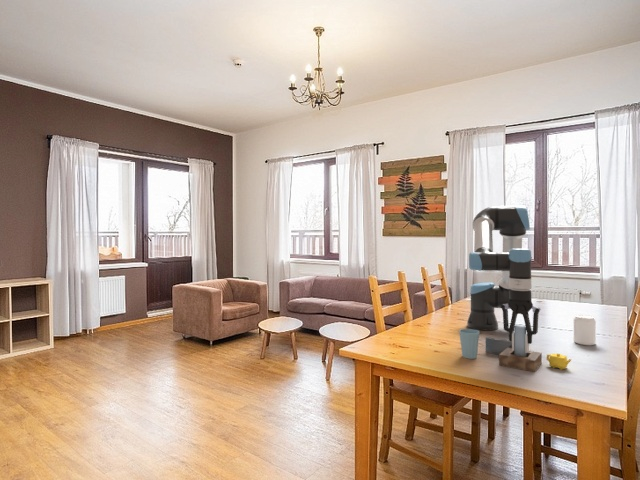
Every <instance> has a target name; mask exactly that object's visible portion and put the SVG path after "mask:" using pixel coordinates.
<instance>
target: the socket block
mask: <svg viewBox="0 0 640 480" xmlns="http://www.w3.org/2000/svg"><path fill="white" fill-rule="evenodd" d="M542 353H543V352H539V351H533V350H529V352H528V353H526V357H524V356H518V355H515V350H514V351H512V348H510V347H507V348H506V349H505V350H504V351H503V352H502V353H500V354H498V365H499V366H502V367H508V368H513V369H519V370H522V371H523V370H524V371H527V372H532V373H533V372H534V373H535V372H536V371H537V369H539V367H540V366H541V365H542V363H543V362H542V357H543V355H542Z"/></svg>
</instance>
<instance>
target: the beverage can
mask: <svg viewBox="0 0 640 480" xmlns="http://www.w3.org/2000/svg"><path fill="white" fill-rule="evenodd" d="M596 322H597V321H596V319H595V317H594V316H592V315H585V314H576V315H574V318H573V342H575V343H576V344H578V345H581V346H593V345H596V337H597V336H596V333H597V332H596Z"/></svg>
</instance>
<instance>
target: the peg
mask: <svg viewBox="0 0 640 480" xmlns="http://www.w3.org/2000/svg"><path fill="white" fill-rule="evenodd" d="M513 332H514V333H515V355H518V356H524V357H526V353H525V335H526V334H527V331H526V326H525V325H520V324H519V325H518V324H517V325H516V324H515V326H514V331H513Z"/></svg>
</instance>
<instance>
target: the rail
mask: <svg viewBox="0 0 640 480" xmlns="http://www.w3.org/2000/svg"><path fill="white" fill-rule="evenodd" d="M507 347H510V348H512V341H510V340H508V339H507V340H506V339H500V338H493V337H485V353H488V354H489V353H490V354H493V355H499V354H500V353H502V352H503V351H504V350H505V349H506V348H507Z"/></svg>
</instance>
